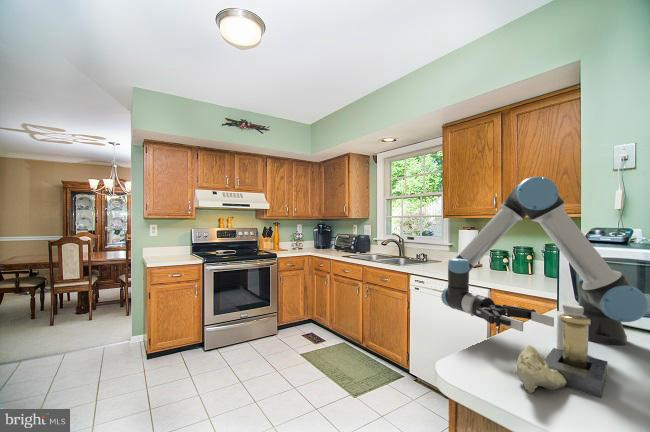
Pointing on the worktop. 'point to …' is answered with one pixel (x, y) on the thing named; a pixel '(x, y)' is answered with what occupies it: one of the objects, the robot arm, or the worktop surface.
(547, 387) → the beige rock
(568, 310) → the pill bottle
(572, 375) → the block
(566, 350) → the brass flanged peg
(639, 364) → the worktop surface
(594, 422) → the worktop surface
